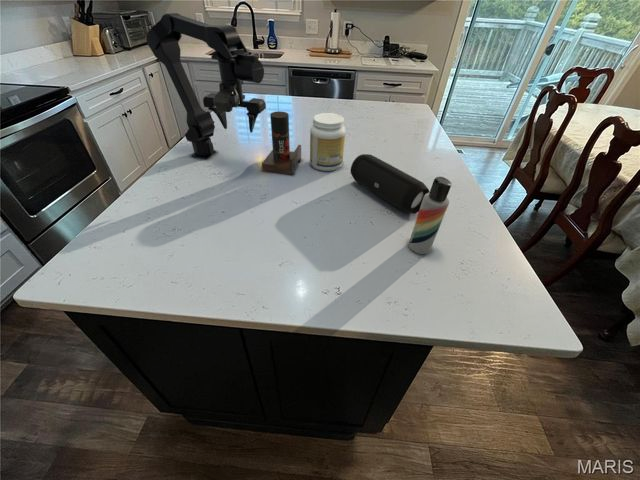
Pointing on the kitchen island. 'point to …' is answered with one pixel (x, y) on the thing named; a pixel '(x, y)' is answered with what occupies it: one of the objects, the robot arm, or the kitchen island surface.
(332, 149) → the supplement tub
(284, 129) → the deodorant
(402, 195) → the portable speaker
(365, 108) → the kitchen island surface
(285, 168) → the brown l-shaped stand
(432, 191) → the lotion bottle
